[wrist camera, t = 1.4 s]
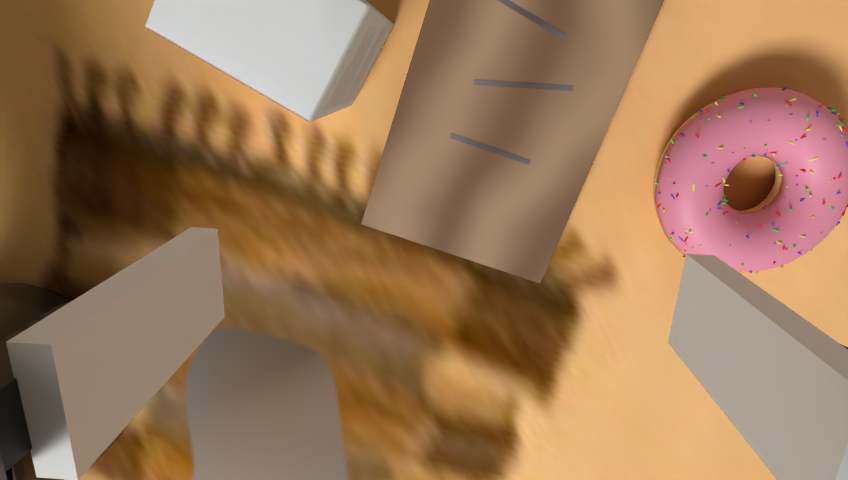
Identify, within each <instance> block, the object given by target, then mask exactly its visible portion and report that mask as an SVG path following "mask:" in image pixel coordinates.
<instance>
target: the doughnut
mask: <svg viewBox="0 0 848 480" xmlns="http://www.w3.org/2000/svg"><path fill="white" fill-rule="evenodd" d="M830 109H831V107H826V106H824V105H823V104H821V102H820V101H816V100H814V99H813V98H811V97H810V96H808V95H806V94H803V93H801V92H798V91H794V90H790V89H787V88H786V87H785V88H778V87H760V88H752V89H747V90H743V91H739V92H736V93H732V94H730V95H727V96H722V97H721V98H719V99H718V100H717V101H715V102H713V103H711V104H709V105H707V106H705V107H704V108H702V109H701V110H698V112H696V113H695V114H694V115H692V116H691V117H690V118H689V119H688V120H687V121H685V122H684V123H683V124H682V125H681V126H680V128H679V129H678V130H677V131H676V132H675V133H674V135H673V136H672V137H671V139H670V140H669V142H668V143H667V145H666V147H665V149H664V151H663V153H662V155H661V157H660V159H659V162H658V165H657V168H656V172H655V177H654V187H653V195H654V204H655V209H656V212H657V215H658V218H659V221H660V223H661V226H662V228H663V231H664V233H665V235H666V236H667V238H668V239H669V240H670V242H671V243H672V244H673V245H674V246H675V247H676V248H677V249H678V250H679V251H680V252H681V253H683V254H684V255H683V257H686V254H698V255H715V256H716V257H718V258H719V259H720V260H722V261H723V262H725V263H726V264H727V265H729V266H730V267H732V268H733V269H735V270H736V271H737V272H750V273H752V271H757V272H756V273H755V274H758V272H759V271H762V270H767V269H771V268H775V267H778V266H781V269H783V265H784V264H786V263H789V262H791V261H793V260H795V259H797V258H798V257H800V256H802V255H803V254H805V253H807V252H808V251H810V250H812V248H814V247H815V246H816V245H818V244H819V243H820V242H821V241H822V240H823V239H824V238H825V237H826V236H827V235H828V234H829V233H830V232H831V231H832V230H834V227H835V226H837V225H838V224H839V223H840V222H839V221H840V219H841V217H842V216H844V213H845V210H846V208H847V207H848V132H847V130H848V128H845V127H844V125H843V124H844V123H845V121H843V120H844V119H839V118H838V117H837V116H838V115H839V114H840V113H837V114H836V112H833V111H835V109H833V110H830ZM835 114H836V115H835ZM840 120H842V121H843V122H842V123H841V121H840ZM751 156H753V157H755V156H763V157H767V158H769V159H770V160H771V161H772V162H773V164H774V167H775V182H774V185H773V188H772V190H771V191H770V193H769V194H768V196H767V197H766V198H765V199H764V200H763V201H762V202H761V203H760V204H758V205H757V206H755V207H753V208H751V209H748V210H744V211H738V210H735V209H733V208H732V207H730V206H729V205H728V204H727V203H726V202H728V200H726V199H727V197H726V196H725V195H724V186H729V184H725V182H726V179H727V177H728V175H729V174H730V172H731V171H732V169H733V168H734V167H735V166H736V165H737V164H738V163H739V162H741V161H742V160H743V162H744V161H745V159H746V158H748V157H751Z"/></svg>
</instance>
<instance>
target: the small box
mask: <svg viewBox="0 0 848 480" xmlns="http://www.w3.org/2000/svg"><path fill="white" fill-rule="evenodd" d="M393 26H394V24H393V23H392V22H391V21H390V20H389V19H388V18H386V17H385V16H384V15H383V14H382V13H380V12H379V11H378V10H377V9H376V8H375V7H373V6H372V5H371V4H370V3H369V2H367V1H365V0H154V3H153V5H152V8H151V11H150V14H149V17H148V20H147V22H146V28H147V29H149V30H150V31H152V32H154V33H156V34H157V35H159V36H161V37H163V38H164V39H166V40H168V41H169V42H171V43H173V44H175V45H176V46H178V47H180V48H182V49H183V50H185V51H187V52H189V53H190V54H192V55H194V56H196V57H197V58H199V59H201V60H202V61H204V62H206V63H208V64H209V65H211V66H213V67H215V68H216V69H218V70H220V71H222V72H223V73H225V74H227V75H229V76H230V77H232V78H234V79H235V80H237V81H239V82H241V83H242V84H244V85H246V86H248V87H249V88H251V89H253V90H255V91H256V92H258V93H260V94H261V95H263V96H265V97H267V98H268V99H270V100H272V101H273V102H275V103H277V104H279V105H280V106H282V107H284V108H286V109H287V110H289V111H291V112H293V113H294V114H296V115H298V116H300V117H301V118H303V119H305V120H306V121H308V122H311V121H314V120H316V119H319V118H321V117H324V116H326V115H329V114H331V113H333V112H336V111H338V110H341V109H343V108H346V107H348V106H351V105H352V104H353V102H354V100H355V98H356V97H357V95H358V93H359V91H360V89H361V87H362V85H363V84H364V82H365V80H366V78H367V76H368V74H369V72H370V70H371V68H372V66H373V65H374V63H375V61H376V59H377V57H378V55H379V53H380V51H381V49H382V47H383V45H384V44H385V42H386V40H387V38H388V36H389V34H390V32H391V30H392V28H393Z"/></svg>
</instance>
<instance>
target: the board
mask: <svg viewBox="0 0 848 480" xmlns="http://www.w3.org/2000/svg"><path fill="white" fill-rule="evenodd" d="M663 2H664V0H430V1H429V5H428V8H427V11H426V15H425V18H424V21H423V24H422V28H421V31H420V34H419V37H418V41H417V44H416V47H415V50H414V54H413V57H412V60H411V63H410V67H409V70H408V73H407V76H406V80H405V83H404V86H403V89H402V93H401V96H400V99H399V103H398V106H397V109H396V112H395V116H394V119H393V122H392V125H391V129H390V132H389V135H388V138H387V142H386V145H385V148H384V151H383V155H382V158H381V161H380V164H379V168H378V171H377V174H376V177H375V181H374V184H373V187H372V190H371V194H370V197H369V200H368V204H367V207H366V210H365V213H364V217H363V220H362V223H361V224H362V225H365V226H368V227H371V228H374V229H377V230H380V231H383V232H386V233H390V234H393V235H396V236H399V237H402V238H405V239H408V240H411V241H414V242H417V243H420V244H423V245H426V246H429V247H432V248H435V249H438V250H441V251H444V252H447V253H450V254H453V255H456V256H459V257H462V258H465V259H468V260H471V261H474V262H477V263H480V264H483V265H486V266H489V267H492V268H495V269H498V270H501V271H504V272H507V273H510V274H513V275H516V276H519V277H522V278H525V279H528V280H531V281H534V282H537V283H541V280H542V278H543V276H544V273H545V271H546V269H547V267H548V264H549V262H550V260H551V257H552V255H553V253H554V251H555V248H556V246H557V244H558V241H559V239H560V237H561V235H562V232H563V230H564V228H565V225H566V223H567V221H568V219H569V216H570V214H571V212H572V210H573V207H574V205H575V203H576V200H577V198H578V196H579V194H580V191H581V189H582V187H583V184H584V182H585V180H586V178H587V175H588V173H589V171H590V168H591V166H592V164H593V162H594V159H595V157H596V155H597V152H598V150H599V148H600V146H601V143H602V141H603V139H604V136H605V134H606V132H607V130H608V127H609V125H610V123H611V120H612V118H613V116H614V114H615V111H616V109H617V107H618V104H619V102H620V100H621V98H622V95H623V93H624V91H625V89H626V86H627V84H628V82H629V79H630V77H631V75H632V73H633V70H634V68H635V66H636V63H637V61H638V59H639V57H640V54H641V52H642V50H643V47H644V45H645V43H646V41H647V38H648V36H649V34H650V31H651V29H652V27H653V25H654V22H655V20H656V18H657V15H658V13H659V11H660V9H661V6H662V4H663Z"/></svg>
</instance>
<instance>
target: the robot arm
mask: <svg viewBox="0 0 848 480" xmlns="http://www.w3.org/2000/svg"><path fill="white" fill-rule="evenodd" d="M224 317H225V314H224V302H223V290H222V278H221V266H220V254H219V241H218V229H212V228H194V227H191V228H189V229H187V230H186V231H184V232H183V233H181V234H179V235H178V236H176V237H174V238H173V239H171V240H170V241H168V242H166V243H165V244H163V245H162V246H160V247H158V248H157V249H155V250H153V251H152V252H150V253H149V254H147V255H145V256H144V257H142V258H141V259H139V260H137V261H136V262H134V263H133V264H131V265H129V266H128V267H126V268H124V269H123V270H121V271H120V272H118V273H116V274H115V275H113V276H112V277H110V278H108V279H107V280H105V281H103V282H102V283H100V284H99V285H97V286H95V287H94V288H92V289H91V290H89V291H87V292H86V293H84V294H83V295H81V296H79V297H78V298H76V299H74V300H73V301H70V300H68V299H66V298H64V297H62V296H60V295H58V294H56V293H53V292H50V291H48V290H45V289H41V288H38V287H33V286H29V285H22V284H0V480H64V479H67V480H79V478H80V477H81V476H82V475H83V474H84V473H85V472H86V471H87V470H88V468H89V467H90V466H91V465H92V464H93V463H94V462H95V461H96V460H97V459H98V458H100V457H101V456H102V455H103V454H104V453H105V451H106V450H107V449H108V448H109V447H110V446H111V445H112V444H113V443H114V442H115V440H116V439H117V438H118V437H119V436H120V435H121V434H122V432H123V431H124V429H125V428H126V426H127V425H128V424H129V423H130V422H131V421H132V419H133V418H134V417H135V416H136V415H137V414H138V413H139V412H140V411H141V409H142V408H143V407H144V406H145V405H146V404H147V403H148V402H149V401H150V399H151V398H152V397H153V396H154V395H155V394H156V393H157V392H158V391H159V389H160V388H161V387H162V386H163V385H164V384H165V383H166V382H167V380H168V379H169V378H170V377H171V376H172V375H173V374H174V373H175V372H176V370H177V369H178V368H179V367H180V366H181V365H182V364H183V363H184V362H185V360H186V359H187V358H188V357H189V356H190V355H191V354H192V353H193V352H194V350H195V349H196V348H197V347H198V346H199V345H200V344H201V343H202V342H203V340H204V339H205V338H206V337H207V336H208V335H209V334H210V333H211V332H212V330H213V329H214V328H215V327H216V326H217V325H218V324H219V323H220V321H221V320H222V319H223V318H224ZM668 343H669V345H670V346H671V347H672V348H673V350H674V351H675V352H676V353H677V355H678V356H679V357H680V358H681V360H682V361H683V362H684V363H685V365H686V366H687V367H688V368H689V370H690V371H691V372H692V373H693V375H694V376H695V377H696V378H697V380H698V381H699V382H700V383H701V385H702V386H703V387H704V388H705V390H706V391H707V392H708V393H709V395H710V396H711V397H712V399H713V400H714V401H715V402H716V404H717V405H718V406H719V407H720V409H721V410H722V411H723V412H724V414H725V415H726V416H727V417H728V419H729V420H730V421H731V422H732V424H733V425H734V426H735V427H736V429H737V430H738V431H739V432H740V434H741V435H742V436H743V437H744V439H745V440H746V441H747V442H748V444H749V445H750V446H751V447H752V449H753V450H754V451H755V452H756V454H757V455H758V456H759V457H760V459H761V460H762V461H763V462H764V464H765V465H766V466H767V468H768V469H769V470H770V471H771V473H772V474H773V475H774V476H775V478H776V479H777V480H848V347H846V346H843V345H841V344H839V343H838V342H836V341H835V340H834V339H832V338H831V337H829V336H828V335H826V334H825V333H824V332H822V331H821V330H819V329H818V328H817V327H815V326H814V325H812V324H811V323H809V322H808V321H807V320H805V319H804V318H802V317H801V316H800V315H798V314H797V313H795V312H794V311H793V310H791V309H790V308H788V307H787V306H785V305H784V304H783V303H781V302H780V301H778V300H777V299H776V298H774V297H773V296H771V295H770V294H768V293H767V292H766V291H764V290H763V289H761V288H760V287H759V286H757V285H756V284H754V283H753V282H751V281H750V280H749V279H747V278H746V277H744V276H743V275H742V274H740V273H739V272H737V271H736V270H735V269H733V268H732V267H730V266H729V265H727V264H726V263H725V262H723V261H722V260H720V259H719V258H718V257H716V256H715V255H698V254H686V258H685V263H684V268H683V273H682V277H681V282H680V287H679V292H678V297H677V302H676V307H675V311H674V316H673V321H672V326H671V331H670V336H669V340H668Z"/></svg>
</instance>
